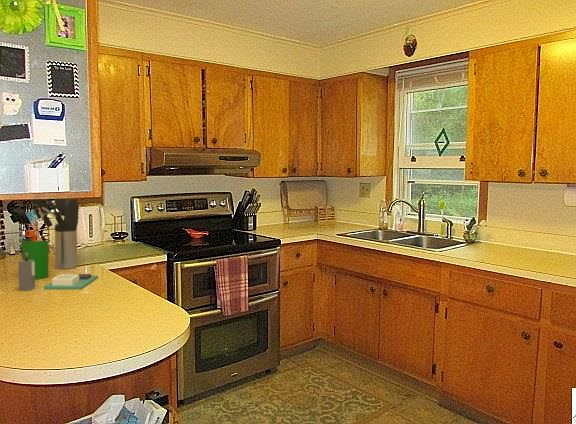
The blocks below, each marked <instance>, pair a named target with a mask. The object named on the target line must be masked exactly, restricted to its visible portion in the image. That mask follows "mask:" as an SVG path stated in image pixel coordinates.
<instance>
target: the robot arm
mask: <svg viewBox="0 0 576 424" xmlns="http://www.w3.org/2000/svg"><path fill="white" fill-rule="evenodd" d="M29 201H30V202H31V203H30V204H32V205H31V208H32V209H33V212H34V214H35V215H36V216H37V219H38V220H40V219H41V220H42V221H43V222H44V224H45V225H46V227H47V228H50V227H52V226H53V222H52V221H51V219H50V217H49V216H48V214H49V215H52V216H53V218H55V220H56V222H57V223H56V224H55V226H54V245H55V246H54V248H55V249H54V254H55V255H54V259H55V269H58V270H59V269H60V270H68V269H75V268H78V234H77V233H78V232H77V231H78V223H79V210H80V208H79V205H80V204H79V200H78V199H77V198H76V199H55V200H50V198H49V199H45V200H30V199H29Z"/></svg>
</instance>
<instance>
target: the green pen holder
mask: <svg viewBox="0 0 576 424" xmlns="http://www.w3.org/2000/svg"><path fill="white" fill-rule="evenodd" d="M25 237H30V238H28V239H27V238H26V239H22V240H21V250H22V251H21V260H25V253H28V260H34V261H35V280H42V279H46V278H49V240H38V241H37V235H36V232H35V230H30V229H29V230H25Z"/></svg>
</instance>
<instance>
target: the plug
mask: <svg viewBox="0 0 576 424" xmlns="http://www.w3.org/2000/svg"><path fill="white" fill-rule="evenodd" d="M35 288H36V279H35V261H34V260H28V253H25V260H22V259H21V260H20V261H18V289H19V292H20V291H24V292H25V291H28V292H29V291H30V290H31V291H32V290H34V289H35Z"/></svg>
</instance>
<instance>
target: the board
mask: <svg viewBox="0 0 576 424" xmlns="http://www.w3.org/2000/svg"><path fill="white" fill-rule="evenodd" d="M97 279H99V275H92V273H78V274H73V273H69V272H67V273H66V272H65V273H62V274H58V275H56V276H55V277H53V278H51V281H50V283H48V284H46V285H44V286H43V290H83V289H84V288H86V287H88V286H89V285H90V284H91V283H93V282H94V281H95V280H97Z"/></svg>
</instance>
